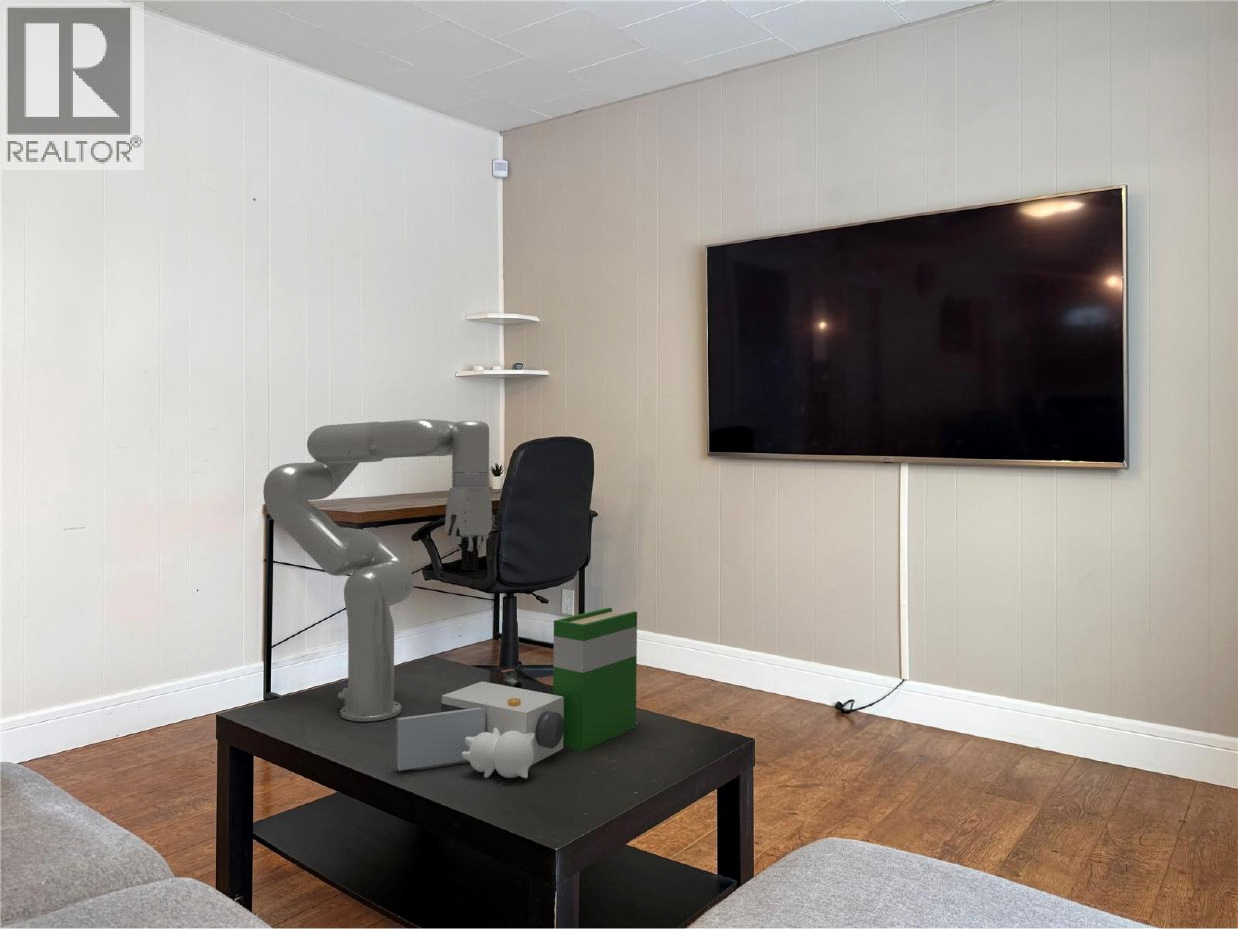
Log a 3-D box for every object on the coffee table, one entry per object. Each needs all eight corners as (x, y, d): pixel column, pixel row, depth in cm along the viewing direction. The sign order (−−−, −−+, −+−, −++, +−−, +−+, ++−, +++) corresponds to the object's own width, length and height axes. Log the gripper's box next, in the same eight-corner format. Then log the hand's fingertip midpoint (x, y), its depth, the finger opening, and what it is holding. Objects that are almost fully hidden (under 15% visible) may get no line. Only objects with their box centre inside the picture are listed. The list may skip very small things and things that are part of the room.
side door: (399, 770, 155) (399, 719, 155) (395, 765, 157) (395, 715, 157) (486, 756, 162) (486, 708, 162) (481, 752, 164) (482, 704, 164)
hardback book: (607, 720, 186) (608, 607, 186) (635, 727, 182) (637, 612, 181) (552, 743, 172) (553, 620, 172) (582, 751, 168) (583, 625, 167)
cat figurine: (466, 719, 156) (529, 724, 153) (488, 736, 165) (548, 740, 161) (455, 770, 152) (519, 776, 148) (478, 784, 160) (540, 790, 157)
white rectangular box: (441, 747, 169) (441, 691, 169) (481, 730, 179) (481, 677, 179) (534, 770, 158) (535, 710, 157) (571, 750, 168) (572, 694, 168)
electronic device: (510, 709, 193) (510, 675, 193) (485, 700, 201) (486, 667, 200) (526, 706, 196) (527, 672, 196) (502, 696, 204) (502, 664, 203)
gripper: (479, 479, 190) (479, 564, 191) (431, 481, 178) (431, 572, 178) (507, 480, 187) (506, 567, 187) (460, 482, 174) (459, 575, 174)
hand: (469, 569), depth 183 cm, fingers closed
